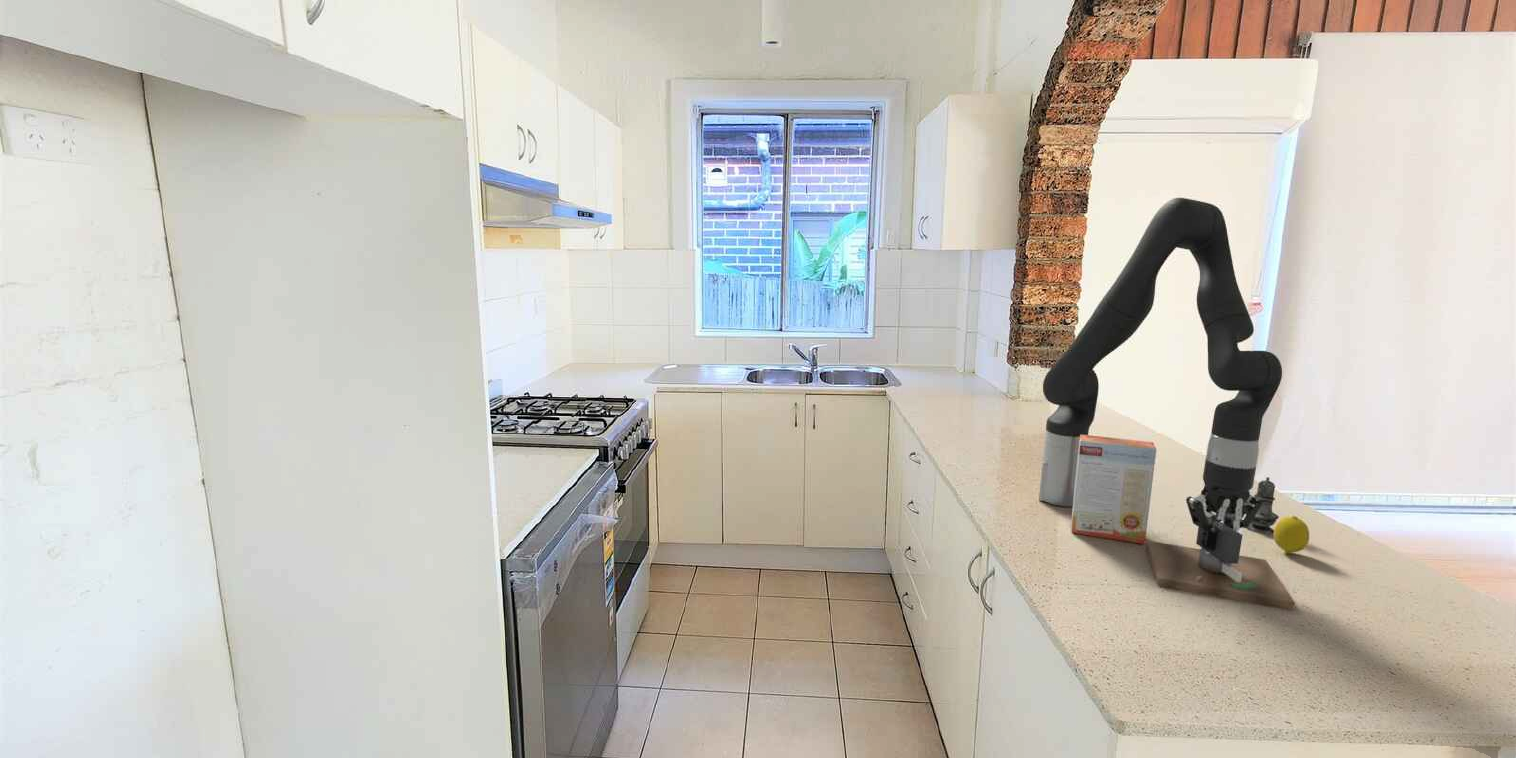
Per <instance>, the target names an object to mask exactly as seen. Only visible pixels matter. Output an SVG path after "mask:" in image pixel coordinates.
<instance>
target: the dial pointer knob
mask: <svg viewBox="0 0 1516 758" xmlns="http://www.w3.org/2000/svg"><path fill="white" fill-rule="evenodd" d="M1211 521H1212V519H1211ZM1211 521H1210V524H1211ZM1197 527H1198V528H1197V535H1196V541H1195V544H1196V545H1197V546H1199V547H1200V548H1199V549H1200V555H1199V561H1198V565H1199V566H1200V567H1201V568H1203V569H1205V570H1207V571H1210V572H1214V573H1220V574H1226V575H1228V576H1229V577H1231V578H1232V579H1233V580H1235V581H1236V582H1241V579H1242V573H1240V572H1239V571H1238V570H1236V569H1235V568H1233V567H1232V566H1231V564H1232V563H1233V564H1238V560H1239V556H1240V552H1241V547H1242V541H1243V536H1244V535H1243V534H1241V533H1240V532H1239V531H1235V530H1233V529H1232V528H1230V527H1228V526H1227V525H1225V524H1223V521H1220V522H1219V526H1218V529H1217V531H1216V532H1217V537H1216V543H1215V549H1214V550H1213V551H1209V550H1207V549H1206V548H1204V547H1203V546H1202V544H1201V537H1202V530H1203V529H1202V528H1200V527H1199V526H1197Z"/></svg>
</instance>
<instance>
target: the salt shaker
mask: <svg viewBox="0 0 1516 758" xmlns="http://www.w3.org/2000/svg"><path fill="white" fill-rule="evenodd" d="M1275 488H1276V485H1275V484H1274V483H1273V482H1272V481H1270V477H1269V476H1267V477H1266V478H1265V480H1260V481H1258V486H1257V491H1256V494H1255V493H1254V495H1253V496H1254V497H1257V498H1259V499H1261V500H1262V501H1263V503H1262V505H1261V507H1260V508H1259V510H1258V512H1257V513H1256V515H1255V517H1254V518H1253V520H1252V522H1251V523H1250V525H1249V527H1248V528H1246V529H1247V530H1248V531H1251V532H1254V533H1257V534H1261V535H1262V534H1263V535H1274V529H1273V528H1272V526H1274V524H1275V523H1277V520H1278V519H1279V515H1278V514H1277V513H1275V512H1273V503H1274V501H1275V500H1276V498H1275V497H1274V495H1275V494H1274V493H1275Z"/></svg>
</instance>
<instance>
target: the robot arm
mask: <svg viewBox="0 0 1516 758" xmlns="http://www.w3.org/2000/svg"><path fill="white" fill-rule="evenodd" d="M1228 235H1229V234H1228V229H1227V224H1226V221H1225V216H1224V214H1223V212H1222V211H1221V209H1220V208H1219V207H1217V206H1216V205H1215V204H1212V203H1210V202H1205V201H1200V200H1197V199H1191V198H1187V197H1175V198H1172V199H1170V200H1168V201H1166V202H1165V203H1163V204H1162V206H1160V207H1159V208H1158V210H1157V211H1156V212H1155V214H1154V215H1153V218H1152V219H1151V221H1150V222H1149V224H1148V225H1147V228H1146V229H1145V231H1144V233H1143V234H1142V237H1141V238H1140V240H1139V242H1138V244H1137V246H1136V248H1135V249H1134V252H1132V254H1131V256H1130V258H1129V259H1128V261H1127V263H1126V264H1125V266H1124V267H1123V269H1122V270H1121V271H1120V273H1119V275H1118V276H1117V278H1116V280H1115V281H1114V283H1113V284H1112V285H1111V286H1110V288H1109V289H1108V290H1107V291H1106V293H1105V295H1104V296H1103V297H1102V299H1101V300H1100V302H1099V303H1098V305H1097V306H1096V308H1095V310H1094V311H1093V313H1092V314H1091V315H1090V317H1089V319H1088V320H1087V322H1085V324H1084V326H1083V327H1082V328H1081V330H1080V331H1079V333H1078V334H1077V336H1076V337H1075V338H1074V340H1073V342H1072V343H1071V344H1070V345H1069V347H1068V348H1067V349H1066V350H1065V352H1063V354H1062V355H1061V356H1060V357H1059V358H1058V360H1057V361H1056V362H1055V363H1054V364H1053V365H1052V366H1051V368H1050V369H1049V370H1048V372H1047V373H1046V374H1045V376H1044V379H1043V381H1042V382H1043V383H1042V391H1043V392H1042V393H1043V396H1044V398H1045V399H1046V400H1047V401H1048V402H1049V403H1051V404H1053V405H1056V406H1058V407H1057V409H1056V410H1055V411H1054V412H1053V413H1052V414H1051V415H1050V416H1048V418H1047V419H1046V424H1045V425H1046V427H1045V436H1044V446H1043V456H1042V463H1041V474H1040V484H1039V493H1038V494H1039V495H1038V501H1040V502H1045V503H1048V504H1050V505H1054V506H1060V507H1073V500H1074V490H1075V480H1076V470H1077V460H1078V451H1079V441H1080V435H1089V432H1090V431H1089V430H1090V427H1091V425H1092V424H1093V422H1094V419H1095V415H1096V410H1097V409H1096V408H1097V404H1098V398H1099V397H1098V396H1099V389H1100V387H1099V386H1100V385H1099V377H1098V375H1097V373H1096V371H1095V370H1094V369H1095V367H1096V366H1097V365H1098V364H1099V363H1100V362H1102V360H1104V359H1105V358H1106V357H1107V356H1109V355H1110V354H1111V353H1112V352H1114V351H1115V350H1116V349H1118V348H1119V347H1120V346H1122V345H1123V344H1125V342H1126V341H1127V340H1129V339H1130V338H1131V337H1132V336H1133V335H1134V333H1136V331H1138V329H1139V328H1140V326H1141V325H1142V324H1143V322H1144V321H1145V319H1146V318H1147V317H1148V316H1149V314H1150V313H1151V310H1152V308H1153V306H1154V303H1155V295H1156V285H1157V284H1156V283H1157V277H1158V275H1159V273H1160V270H1161V269H1162V266H1163V265H1164V263H1165V262H1166V261H1167V260H1168V258H1169V257H1170V256H1171V254H1172V253H1173V252H1174V251H1175V250H1176V248H1178V249H1183V250H1189V252H1190V253H1191V255H1192V257H1193V258H1194V260H1195V262H1196V264H1197V267H1198V270H1199V281H1198V287H1197V292H1196V307H1197V313H1198V315H1199V317H1200V320H1201V323H1202V325H1203V329H1204V331H1205V334H1206V338H1207V371H1208V375H1209V378H1210V379H1211V381H1212V382H1213V384H1215V385H1216V387H1218V388H1219V389H1221V390H1223V391H1229V392H1233V391H1234V392H1235V391H1237V394H1236V396H1235V397H1233V398H1231V399H1230V400H1226V401H1224V402H1221V403H1218V404H1217V405H1216V407H1215V410H1214V413H1213V419H1212V424H1211V433H1210V436H1209V439H1208V443H1207V447H1206V454H1205V461H1204V467H1203V468H1204V469H1203V472H1202V481H1203V483H1204V486H1203V489H1202V490H1201V492H1200V495H1197V496H1196V497H1192V496H1191V495H1190V496H1187V497H1186V498H1185V501H1186V504H1187V508H1188V511H1189V514H1190V518H1191V521H1192V523H1193V524H1194V525H1195V526H1197V527H1200V528H1202V529H1203V530H1202V537H1201V544H1202V546H1203V547H1204V548H1206V549H1207V550H1209V551H1213V550H1214V549H1215V543H1216V537H1217V532H1216V531H1217V529H1218V526H1219V522H1222V523H1223V524H1225V525H1227V526H1228V527H1230V528H1232V529H1233V530H1235V531H1237V532H1239V531H1240V529H1242V528H1243V529H1247V528H1248V527H1249V525H1250V523H1251V522H1252V520H1253V518H1254V517H1255V515H1256V513H1257V512H1258V510H1259V508H1260V507H1261V505H1262V503H1263V501H1262V500H1261V499H1259V498H1257V497H1255V496H1254V495H1252V494H1251V493H1250V491H1251V490H1252V489H1253V487H1254V483H1255V477H1256V470H1257V464H1258V458H1259V453H1260V451H1259V449H1260V447H1259V445H1260V444H1259V443H1260V436H1261V429H1262V425H1263V418H1264V415H1265V414H1266V412H1267V410H1268V409H1269V406H1270V405H1271V402H1272V401H1273V399H1274V397H1275V395H1276V393H1277V391H1278V389H1279V386H1280V385H1281V381H1282V379H1283V378H1282V377H1283V367H1282V363H1281V361H1280V359H1279V358H1278V357H1277V356H1276V355H1275V354H1274V353H1272V352H1271V351H1267V350H1240V348H1239V346H1238V345H1239V343H1242V342H1244V341H1246V340H1248V339H1250V338H1251V337H1252V336H1253V334H1254V332H1255V331H1254V330H1255V327H1254V323H1253V320H1252V319H1251V316H1250V314H1249V311H1248V309H1247V306H1246V303H1245V301H1244V298H1243V296H1242V293H1241V290H1240V288H1239V285H1238V281H1237V278H1236V273H1235V269H1234V262H1233V258H1232V252H1231V247H1230V243H1229V242H1230V241H1229V236H1228ZM1211 519H1212V521H1211ZM1210 521H1211V524H1210Z"/></svg>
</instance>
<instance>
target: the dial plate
mask: <svg viewBox="0 0 1516 758" xmlns="http://www.w3.org/2000/svg"><path fill="white" fill-rule="evenodd" d="M1145 544H1146V545H1145V548H1146V553H1147V557H1148V558H1149V563H1150V565H1151V568H1152V572H1153V575H1154V578H1155V582H1156V585H1157V587H1162V588H1169V589H1174V590H1178V591H1179V590H1180V591H1184V592H1190V593H1195V594H1200V595H1201V594H1202V595H1207V596H1213V597H1218V598H1224V599H1228V600H1234V601H1238V602H1239V601H1240V602H1245V603H1251V604H1256V605H1262V606H1268V607H1273V608H1278V609H1283V610H1289V611H1294V609H1295V608H1294V607H1295V601H1294V599H1293V597H1292V596H1291V595H1290V593H1289V592H1288V590H1287V588H1286V587H1285V586H1284V584H1283V583H1282V582H1281V579H1280V578H1279V577H1278V576H1277V574H1276V573H1275V571H1274V570H1273V569H1272V567H1271V566H1270V564H1269V562H1268V561H1267V559H1265V558H1264V559H1263V558H1257V557H1251V556H1244V555H1239V560H1238V564H1233V563H1232V564H1231V566H1232V567H1233V568H1235V569H1236V570H1238V571H1239V572H1240V573H1242V579H1241V582H1236V581H1235V580H1233V579H1232V578H1231V577H1229V576H1228V575H1226V574H1220V573H1214V572H1210V571H1207V570H1205V569H1203V568H1201V567H1200V566H1199V565H1198V561H1199V555H1200V549H1201V548H1195V547H1188V546H1183V545H1177V544H1171V543H1164V542H1156V541H1151V540H1146V542H1145Z"/></svg>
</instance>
